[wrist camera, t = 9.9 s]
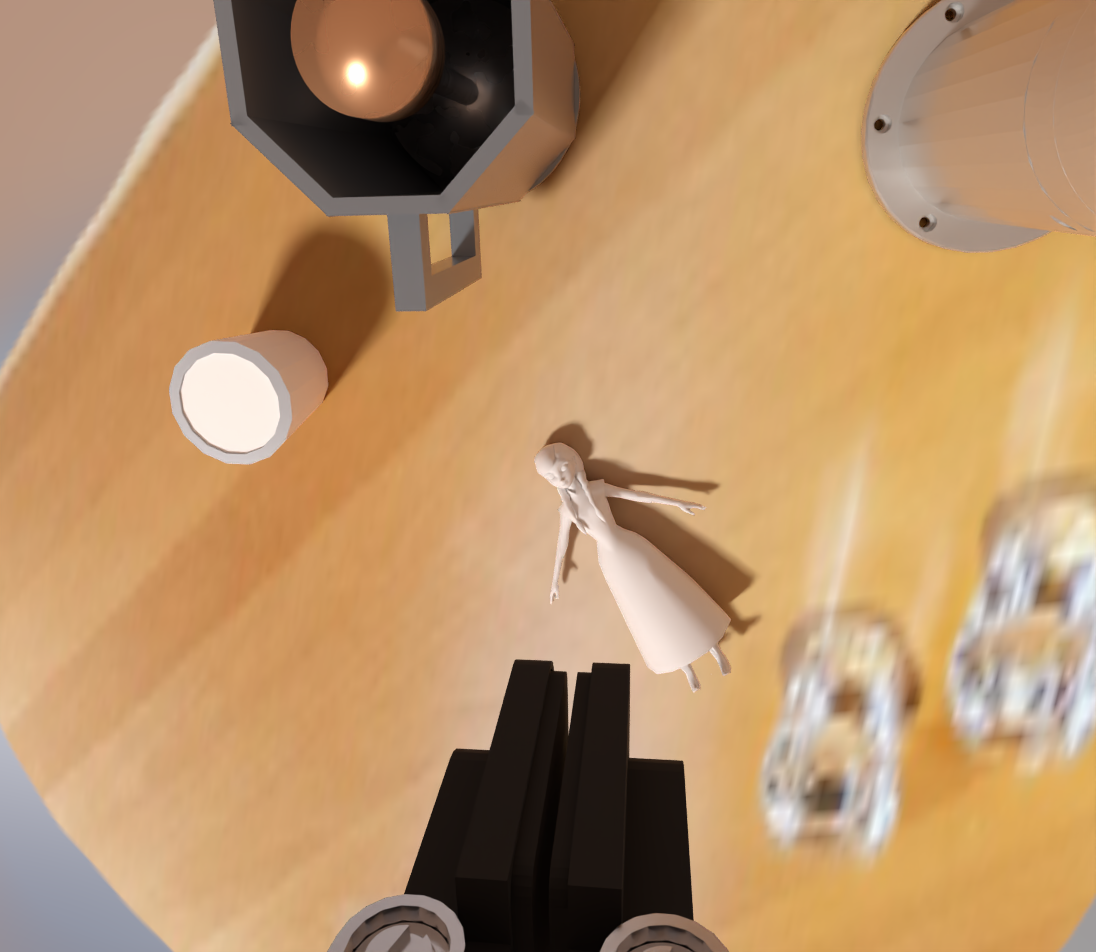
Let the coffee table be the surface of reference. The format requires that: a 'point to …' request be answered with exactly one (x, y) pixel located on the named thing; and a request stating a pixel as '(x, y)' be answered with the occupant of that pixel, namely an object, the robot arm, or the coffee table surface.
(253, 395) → the white cylinder
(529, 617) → the coffee table surface
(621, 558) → the woman figurine
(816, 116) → the coffee table surface
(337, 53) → the plunger
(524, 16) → the press pot
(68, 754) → the coffee table surface
